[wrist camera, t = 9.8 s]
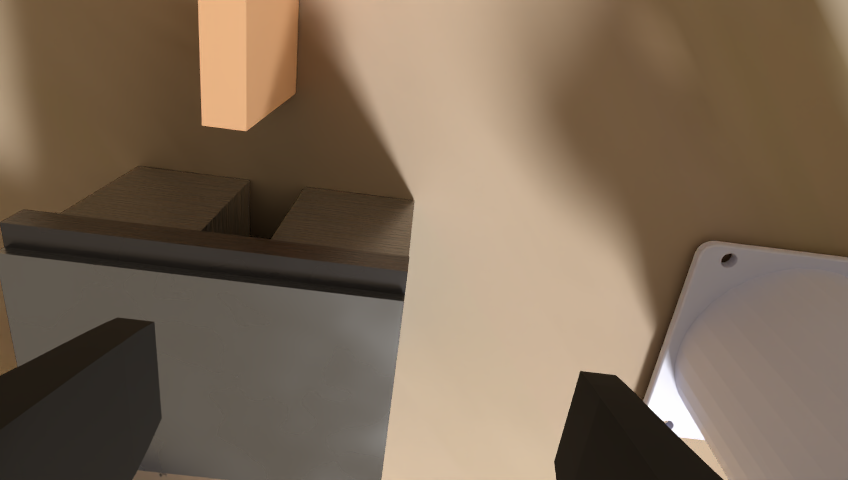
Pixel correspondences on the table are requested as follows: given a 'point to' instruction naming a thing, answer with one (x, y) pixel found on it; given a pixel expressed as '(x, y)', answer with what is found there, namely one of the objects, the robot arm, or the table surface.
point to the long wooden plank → (246, 59)
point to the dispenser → (229, 316)
